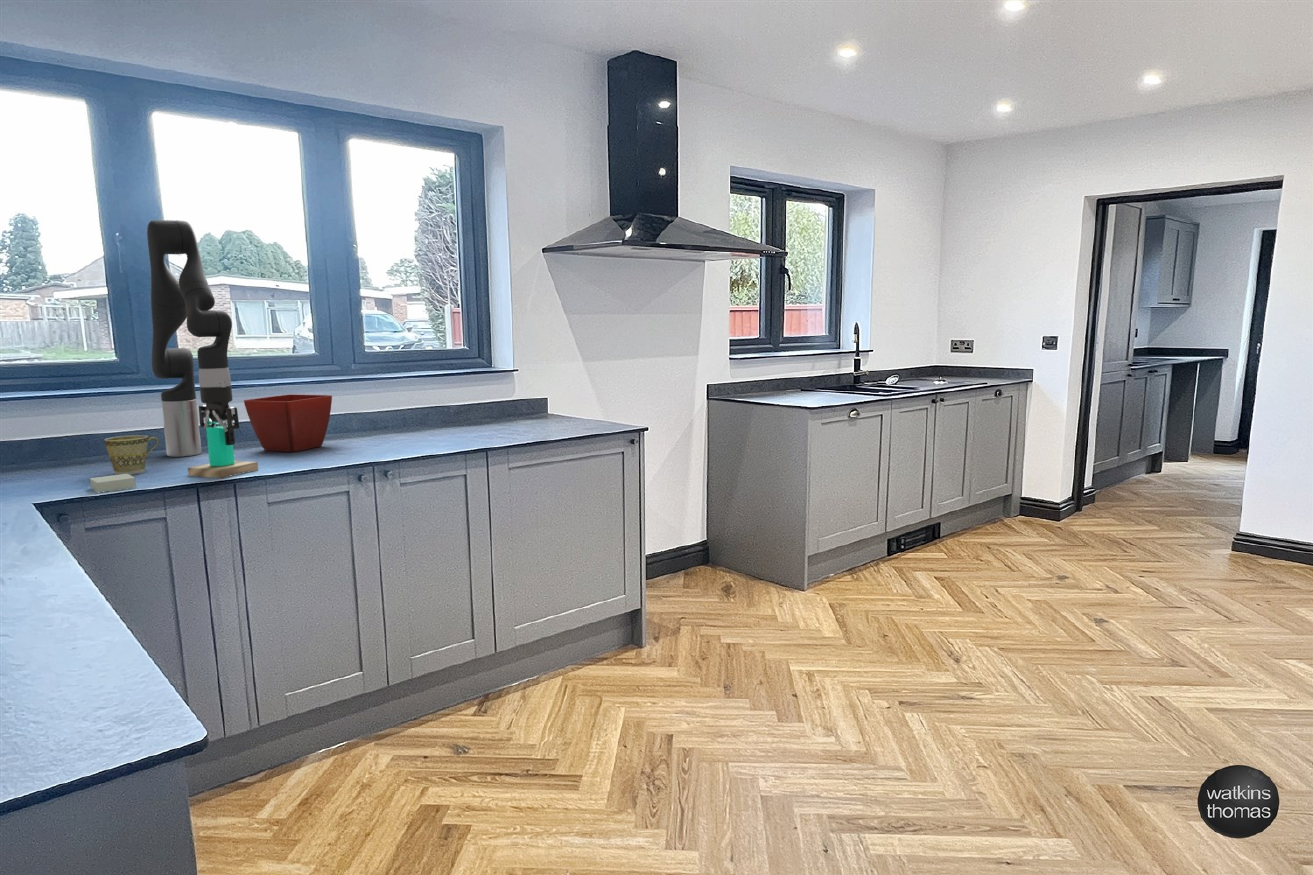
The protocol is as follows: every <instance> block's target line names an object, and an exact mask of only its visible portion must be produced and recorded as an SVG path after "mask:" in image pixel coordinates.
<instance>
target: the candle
mask: <svg viewBox="0 0 1313 875" xmlns="http://www.w3.org/2000/svg"><path fill="white" fill-rule="evenodd" d="M227 427H228V425H227ZM206 432H207V435H206V442H207V451H208V459H209V462H208V463H210V466H225V465H231V464H234V463H235V462H234V461H235V452H234V445H226V443H225V433H224V432H225V430H224V428H223V427H222V425H220V424H219V423H217V426H215V427H206V430H205V433H206Z"/></svg>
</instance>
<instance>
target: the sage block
mask: <svg viewBox="0 0 1313 875" xmlns="http://www.w3.org/2000/svg"><path fill="white" fill-rule="evenodd" d="M89 481H90V488H92V490H93V489H94V490H95V491H94V490H93V491H94V492H96V491H97V492H103V491H111V492H114V491H113V490H118V491H121V490H120V489H125V490H128V489H127V488H132V489H135V488H134V487H136V488H137V483H136V477H135V476H134V475H129V474H120V475H116V474H113V475H106V476H104V475H103V476H99V477H97V476H96V477H92V478H91V477H89ZM97 492H96V493H97ZM103 493H104V492H103Z"/></svg>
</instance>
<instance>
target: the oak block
mask: <svg viewBox="0 0 1313 875" xmlns="http://www.w3.org/2000/svg"><path fill="white" fill-rule="evenodd" d="M234 462H235V463H234V464H231V465H225V466H210V462H208V463H204V464H200V465H194V466H189V467H187V476H188V475H189V476H188V477H198V476H200V477H201V478H211V477H219V478H218V479H223V478H222V477H225V478H227V477H226V476H230V475H234V474H238V473H243V472H247V473H249V472H248V471H252V472H256V471H259V464H258V462H257V461H245V460H244V461H243V460H241V461H240V460H234ZM243 474H244V473H243ZM234 476H235V475H234ZM230 477H231V476H230Z"/></svg>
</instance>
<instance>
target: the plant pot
mask: <svg viewBox="0 0 1313 875" xmlns="http://www.w3.org/2000/svg"><path fill="white" fill-rule="evenodd" d="M332 400H333V395H330V394H329V395H328V394H327V395H326V394H293V393H292V394H282V395H272V396H267V397H266V396H265V397H258V398H250V399H244V400H243V402H244V403H243V404H244V408H245V410H246V413H247V416H248V419H249V423H250V425H251V426H252V429H253V432H254V433H255V435H256V437H257V439H258V441H259V443H260V445H261V447H262V449H263V450H264V451H267V450H268V451H267V452H270V451H271V452H284V453H285V452H287V453H291V452H292V453H294V452H300V451H305V450H308V449H314V448H319V447H322V446H323V443H324V440H325V439H326V438H325V437H326V435H327V429H328V426H329V422H330V415H331V411H332Z"/></svg>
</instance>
